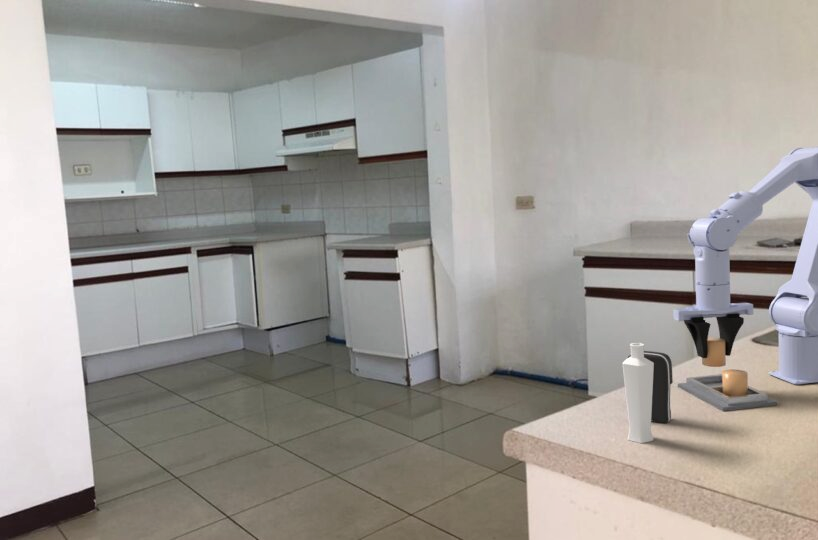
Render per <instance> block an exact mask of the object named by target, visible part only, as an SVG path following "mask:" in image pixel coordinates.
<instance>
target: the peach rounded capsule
mask: <svg viewBox="0 0 818 540" xmlns="http://www.w3.org/2000/svg"><path fill="white" fill-rule="evenodd" d="M726 358H727V356H726V353H725V340H724V339H720V337H719V338H718V337H708V355H707V358H702V357H701V364H702V366H705V367H711V368H718V367H719V368H720V367H725V366H727V365H726V364H727V362H726V361H727V359H726Z"/></svg>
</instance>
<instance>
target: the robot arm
mask: <svg viewBox="0 0 818 540" xmlns="http://www.w3.org/2000/svg"><path fill="white" fill-rule="evenodd" d="M794 183H795V184H796V185H797V186H798V187H800V188H801V189H802V190H803V191H804V192H805V193H807V194H808V195H809V196H810V198H811V199H812V203H811V206H810V210H809V214H808V217H807V221H806V225H805V229H804V232H803V236H802V238H801V239H802V240H801V242H800V248H799V251H798V254H797V256H796V261H795V264H794V268H793V272H792V276H791V279H790V280H788V281H786V282H785V283H784V284H782V285H781V286H780V287H779V288H778V290H777V294H776V296H775V297H774V299H772V301H771V303H770V305H769V309H768V316H769V319H770V321H771V322H772V323H773V324H774V325H775V330H776V331H778V370H771V371H768V375H770V376H773V377H776V378H778V379H781V380H783V381H786V382H788V383H790V384H793V385H804V384H814V383H818V146H815V147H814V146H813V147H797V148H794V149H792V150H791V151H790V152H789V153H788V154H786V155H784V156H782V157H781V158H780V162H779V163H778V165H776V166H775V167H774V168H773V169H772V170H771V171H770V172H768V173H767V175H765V176H764V177H763V178H762V179H761V180H760V181H759V182H757V184H755V185H754V186H753V187H752V188H751V189H750V190H749V191H746V190H740V191H737V192H731V193H730V194H729V195H728V198H729V199H728V200H726V201H725V202H724V203H723V204H721V205H720V206H719V207H718V208H716V209H715V208H714V209H711V211H710V212H709V215H708V217H701V218H699V219H697V220H695V222H693V224H692V225H691V228H690V229H689V233H687V234H686V235H687V241H688V242H689V244H690V245H691V247H692V249H693V255H694V259H695V260H694V262H695V263H694V264H695V265H694V266H695V268H694V270H695V305H693V306H687V307H683V308H675V309H674V308H673V312H672V313H673V316H672V317H673V320H674V321H677V322H683V323H684V325H685V326H686V328H687V330H688V331H689V333H690V336H691V338H692V340H693V343H694V345H695V348H696V353H697V356H698V357H700V358H701V359H702V358H707V355H708V338H709V333H710V329H711V328H710V327H711V323H710V322H706V319H709V318H716V319H715V320H716V323H717V327H718V333H719V338H720V339H724V340H725V353H726V357H730V356H731V354H732V349H733V345H734V343H735V341H736V340H735V339H736V337H737V335H738V333H739V331H740V329H741V327H742V326H743V325H744V321H745V318H744V317H742V316H743V315H747V316H749V315H754V304H753V303H749V302H737V303H735V302H734V303H731V271H730V267H731V266H730V248H732V247H733V246H735V244H736V243H737V238H738V236H739V234H740V233H741V232H742V231H743V230H744V229H746V228H747V227H748V226H749V225H750V224H751V223H753V222H754V221H755V220H756V219H758V218H759V217H760V216H761V215H762V214H763V208H764V207H763V205H765V204H767V203H768V202H769V201H771V200H772V199H773V198H775V197H776V196H777V195H780V193H781V192H783V191H784V190H786V189H787V188H789V187H790V186H791V185H793V184H794ZM741 315H742V316H741Z"/></svg>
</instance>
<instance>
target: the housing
mask: <svg viewBox="0 0 818 540" xmlns="http://www.w3.org/2000/svg"><path fill="white" fill-rule="evenodd" d="M748 378H749V377H748V372H747V371H745V370H742V369H725V370H722V373H721V374H720V373H718V374H712V375H711V374H709V375H701V376H700V375H699V376H691V377H690V376H689V377H686V378H685V379H686V382H682V383H679V382H678V383H677V387H678V388H679V389H681V390H683V391H685V392H687V393H688V394H691V395H692V396H694V397H696V398H697V399H700V400H701V401H703V402H705V403H707V404H709V405H711V406H713V407H715V408H716V409H719V410H721V411H722V412H726V411H727V412H728V411H734V410H743V409H752V408H753V409H754V408H763V407H772V406H778V404H779V403H778V401H777V400H776V399H773V398H771V397H769V396H768V394H767V393H765V392H762V391H761V390H758V389H756V388H753V387H752V386H749V384H748V380H749V379H748Z"/></svg>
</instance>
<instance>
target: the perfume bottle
mask: <svg viewBox="0 0 818 540" xmlns="http://www.w3.org/2000/svg"><path fill="white" fill-rule="evenodd" d="M644 346H645V344H644V343H642V342H633V343H632V342H631V343H630V344H629V347H630V354H631V357H629V358H628V357H627V358H626V359H624V361H623V362H622V364H621V365H622V370H623V381H624V383H623V384H624V390H625V391H624V392H625V400H626V409H627V421H628V428H629V430H628V434H627V435H628V436H627V441H632V442H634V443H639V444H644V443H645V444H646V443H649V442H652V441H654V439H655V438H654V436H653V433H652V421H651V413H652V391H653V369H654V363H653V362H651V361H650V360H648V359H646V358H645V357H644V351H645V350H644V349H645V348H644Z"/></svg>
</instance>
